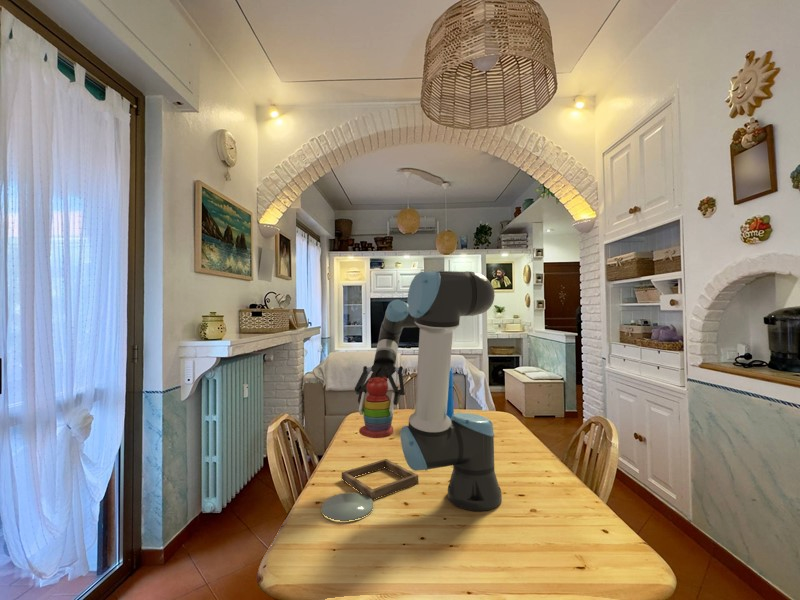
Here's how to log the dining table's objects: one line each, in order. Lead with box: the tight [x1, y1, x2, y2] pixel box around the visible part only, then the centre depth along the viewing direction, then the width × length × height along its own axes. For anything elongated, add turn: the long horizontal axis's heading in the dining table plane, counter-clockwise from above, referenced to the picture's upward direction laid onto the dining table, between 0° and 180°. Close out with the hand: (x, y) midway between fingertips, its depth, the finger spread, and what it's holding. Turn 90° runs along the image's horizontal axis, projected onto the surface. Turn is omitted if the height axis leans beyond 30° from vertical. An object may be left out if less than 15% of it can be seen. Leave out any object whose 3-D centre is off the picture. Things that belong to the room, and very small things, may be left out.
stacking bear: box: [358, 377, 394, 439], centre depth 121 cm, size 11×10×18 cm
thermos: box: [446, 368, 455, 421], centre depth 185 cm, size 11×11×25 cm
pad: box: [321, 492, 374, 521], centre depth 105 cm, size 14×14×1 cm
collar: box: [341, 458, 419, 501], centre depth 121 cm, size 17×17×2 cm
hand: (375, 412), depth 118 cm, fingers closed on stacking bear, 9 cm apart
